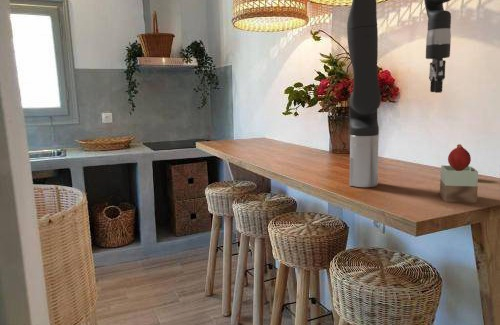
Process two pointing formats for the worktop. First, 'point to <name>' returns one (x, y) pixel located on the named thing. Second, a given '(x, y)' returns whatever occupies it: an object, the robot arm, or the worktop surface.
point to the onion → (459, 158)
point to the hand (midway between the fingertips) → (435, 92)
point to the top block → (459, 176)
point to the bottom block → (458, 193)
